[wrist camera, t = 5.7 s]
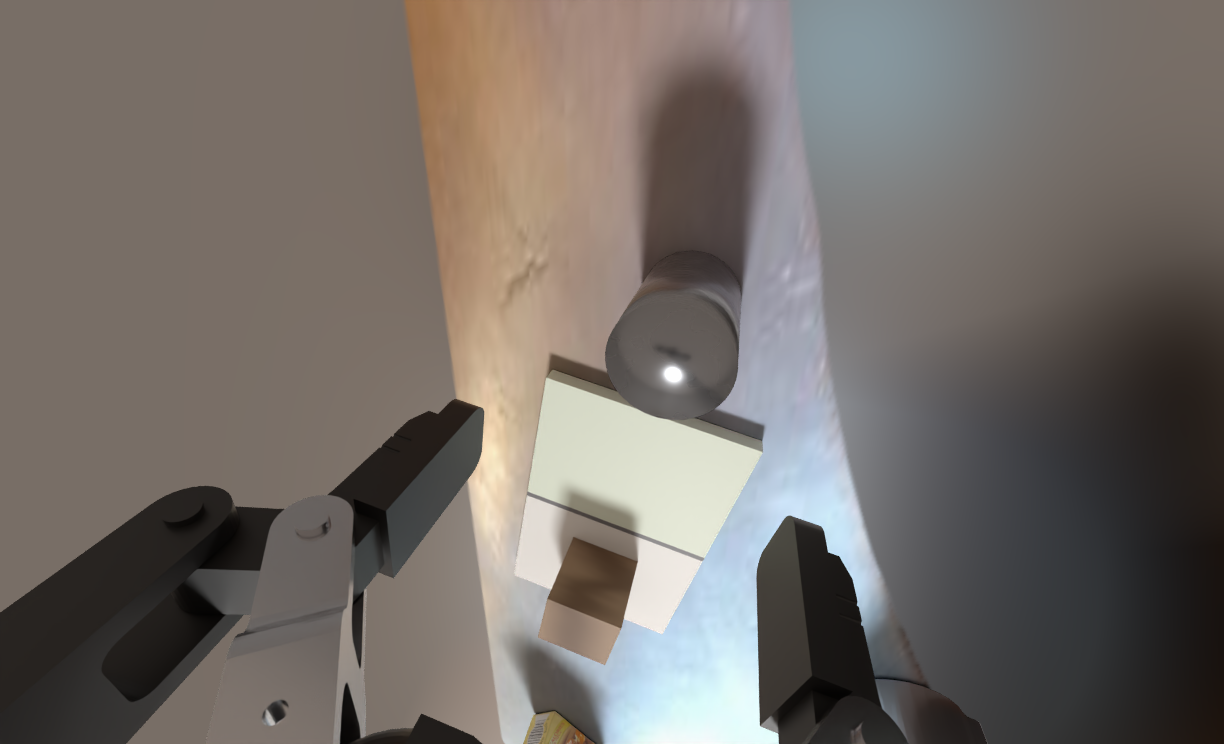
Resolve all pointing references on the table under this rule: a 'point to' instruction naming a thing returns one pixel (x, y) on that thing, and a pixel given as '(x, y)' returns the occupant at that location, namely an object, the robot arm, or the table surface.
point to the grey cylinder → (678, 338)
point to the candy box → (553, 731)
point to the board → (628, 491)
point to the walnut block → (588, 600)
